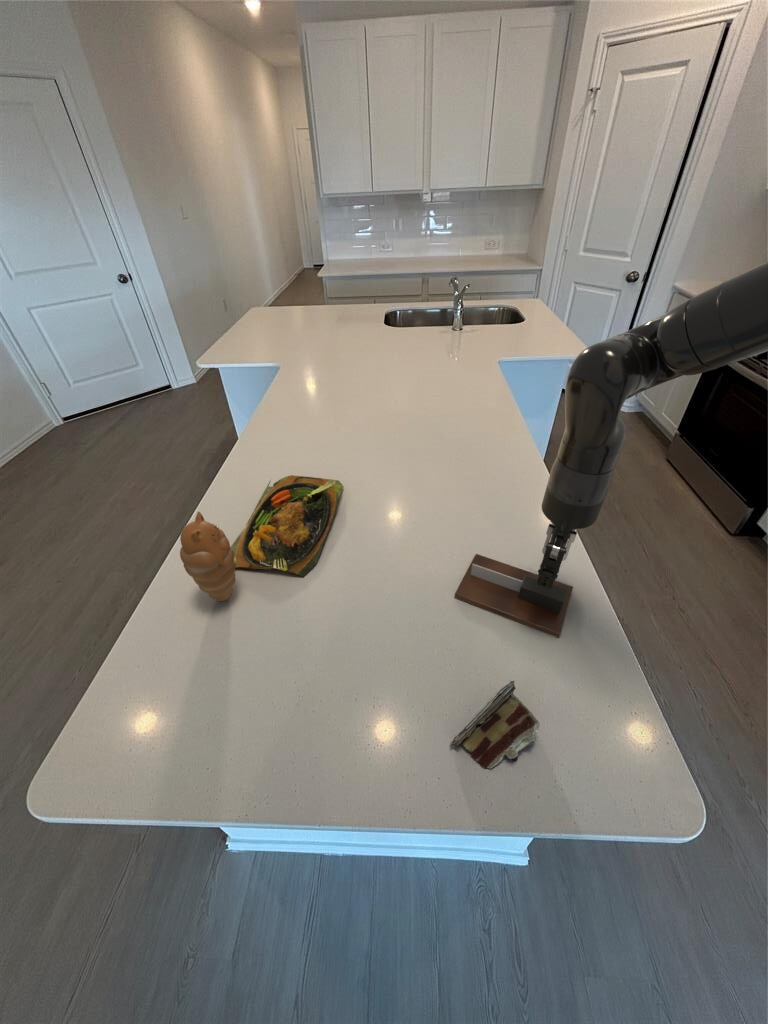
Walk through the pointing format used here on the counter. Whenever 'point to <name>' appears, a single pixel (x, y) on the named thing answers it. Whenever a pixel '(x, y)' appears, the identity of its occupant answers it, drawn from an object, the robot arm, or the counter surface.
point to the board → (510, 597)
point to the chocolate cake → (499, 729)
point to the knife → (525, 588)
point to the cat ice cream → (208, 558)
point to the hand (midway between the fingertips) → (549, 567)
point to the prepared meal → (288, 525)
